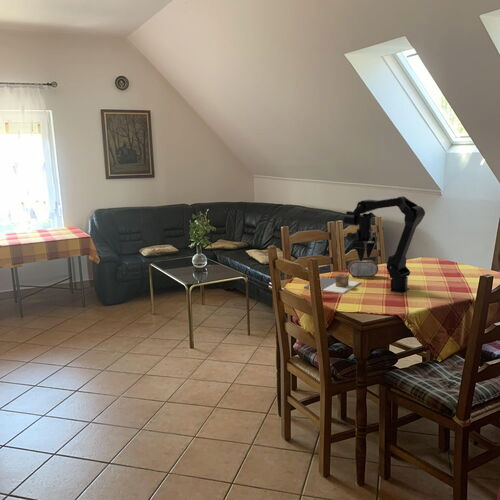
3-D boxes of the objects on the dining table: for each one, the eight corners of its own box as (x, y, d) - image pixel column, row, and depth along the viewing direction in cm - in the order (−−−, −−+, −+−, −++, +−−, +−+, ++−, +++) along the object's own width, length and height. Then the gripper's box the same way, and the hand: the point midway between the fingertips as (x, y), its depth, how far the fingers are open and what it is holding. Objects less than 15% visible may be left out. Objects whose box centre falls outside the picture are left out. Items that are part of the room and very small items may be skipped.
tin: (377, 275, 254) (377, 259, 252) (378, 277, 251) (378, 260, 249) (347, 275, 255) (347, 259, 254) (348, 277, 252) (348, 261, 251)
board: (360, 283, 240) (360, 282, 240) (343, 293, 224) (343, 292, 224) (322, 278, 252) (322, 277, 252) (303, 288, 236) (303, 286, 236)
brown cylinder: (348, 285, 236) (348, 274, 235) (344, 287, 232) (344, 277, 231) (339, 284, 238) (339, 273, 237) (335, 286, 234) (335, 276, 234)
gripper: (356, 223, 247) (356, 254, 250) (340, 228, 231) (341, 261, 234) (378, 224, 240) (377, 256, 243) (363, 230, 225) (363, 263, 228)
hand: (364, 259), depth 238 cm, fingers open, 9 cm apart
